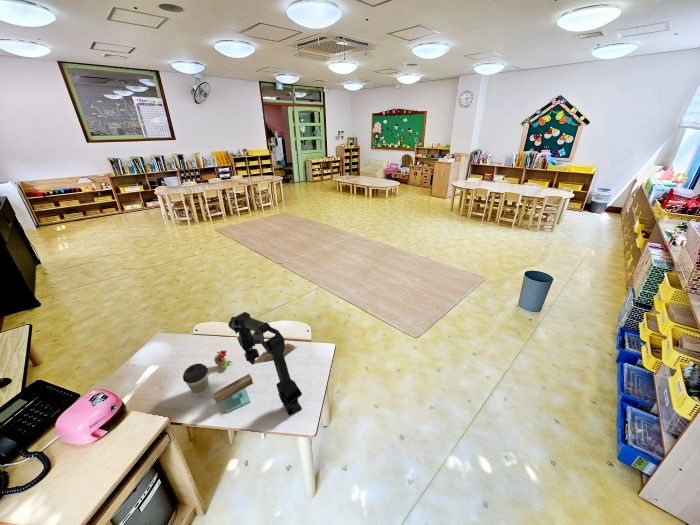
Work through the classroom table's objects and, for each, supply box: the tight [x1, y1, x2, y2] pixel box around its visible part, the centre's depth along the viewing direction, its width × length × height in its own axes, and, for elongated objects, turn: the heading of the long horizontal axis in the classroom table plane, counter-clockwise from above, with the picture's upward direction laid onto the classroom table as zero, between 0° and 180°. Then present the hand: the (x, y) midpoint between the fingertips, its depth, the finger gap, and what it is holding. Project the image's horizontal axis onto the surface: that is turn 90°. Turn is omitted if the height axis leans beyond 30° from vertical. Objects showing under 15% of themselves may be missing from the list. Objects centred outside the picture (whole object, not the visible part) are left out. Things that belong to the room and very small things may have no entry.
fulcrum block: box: [223, 387, 251, 414], centre depth 146 cm, size 11×11×6 cm
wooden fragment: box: [254, 343, 297, 364], centre depth 175 cm, size 26×11×1 cm, turn 116°
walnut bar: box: [212, 373, 254, 405], centre depth 143 cm, size 4×18×4 cm, turn 130°
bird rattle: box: [213, 349, 232, 370], centre depth 165 cm, size 6×11×9 cm
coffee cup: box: [182, 363, 210, 398], centre depth 149 cm, size 11×11×15 cm
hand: (250, 358), depth 155 cm, fingers open, 9 cm apart
